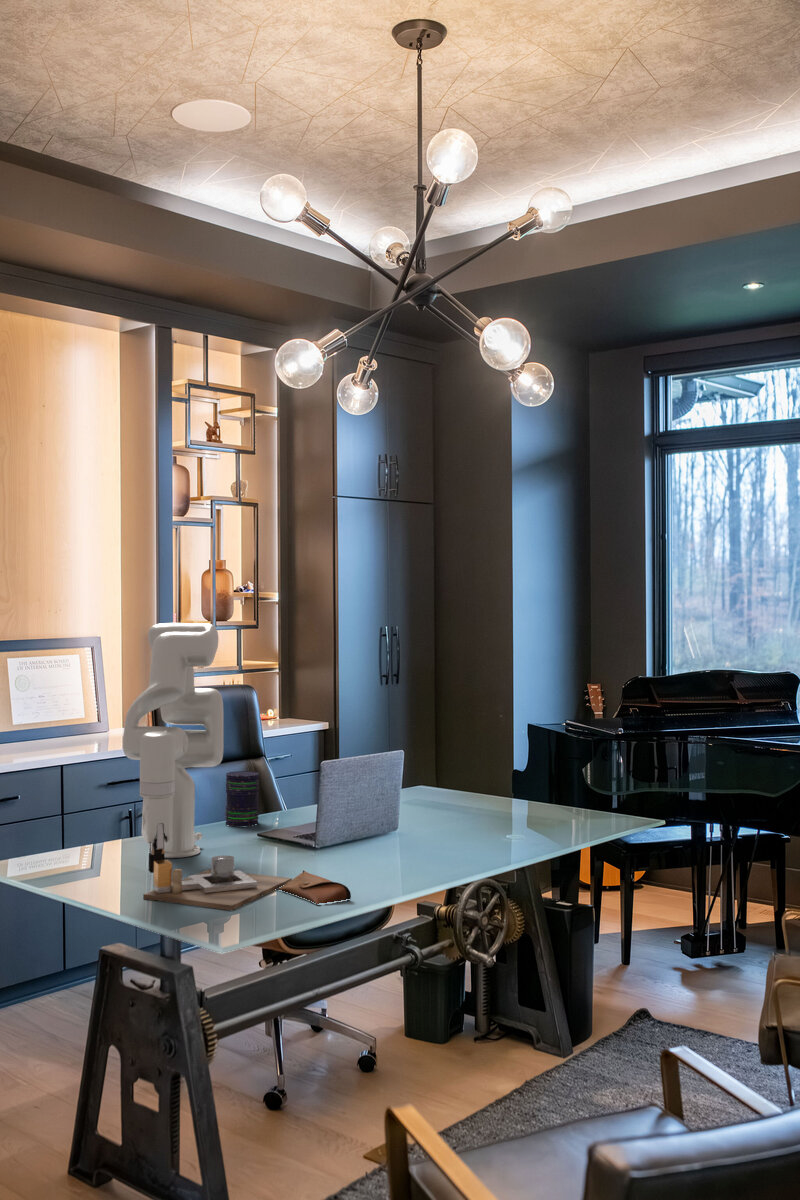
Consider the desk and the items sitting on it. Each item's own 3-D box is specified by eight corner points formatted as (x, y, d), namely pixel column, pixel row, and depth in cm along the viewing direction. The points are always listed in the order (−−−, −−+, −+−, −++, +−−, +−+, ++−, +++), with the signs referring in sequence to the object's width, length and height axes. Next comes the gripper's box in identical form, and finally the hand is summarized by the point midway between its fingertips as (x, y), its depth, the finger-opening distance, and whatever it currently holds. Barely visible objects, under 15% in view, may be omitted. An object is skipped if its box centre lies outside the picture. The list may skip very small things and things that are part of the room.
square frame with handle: (239, 875, 244) (239, 848, 244) (257, 887, 234) (257, 859, 234) (148, 885, 235) (149, 857, 235) (162, 897, 224) (163, 868, 224)
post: (218, 881, 239) (219, 854, 240) (238, 883, 238) (238, 856, 238) (206, 886, 235) (207, 859, 235) (226, 888, 233) (226, 861, 233)
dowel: (175, 891, 230) (175, 868, 230) (183, 892, 229) (183, 869, 229) (170, 893, 228) (170, 870, 228) (178, 894, 227) (178, 871, 227)
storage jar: (228, 820, 319) (229, 770, 319) (261, 821, 319) (261, 771, 319) (221, 827, 309) (222, 775, 309) (255, 827, 309) (256, 776, 309)
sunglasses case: (273, 889, 236) (286, 861, 239) (295, 901, 240) (308, 873, 242) (319, 906, 222) (333, 876, 225) (342, 919, 226) (355, 889, 228)
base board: (209, 873, 251) (209, 869, 252) (291, 882, 243) (291, 878, 243) (143, 898, 227) (143, 894, 228) (231, 910, 219) (231, 905, 219)
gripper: (135, 783, 239) (134, 864, 239) (144, 796, 225) (143, 882, 225) (169, 781, 242) (168, 861, 242) (180, 794, 228) (179, 879, 228)
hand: (156, 871), depth 234 cm, fingers closed
